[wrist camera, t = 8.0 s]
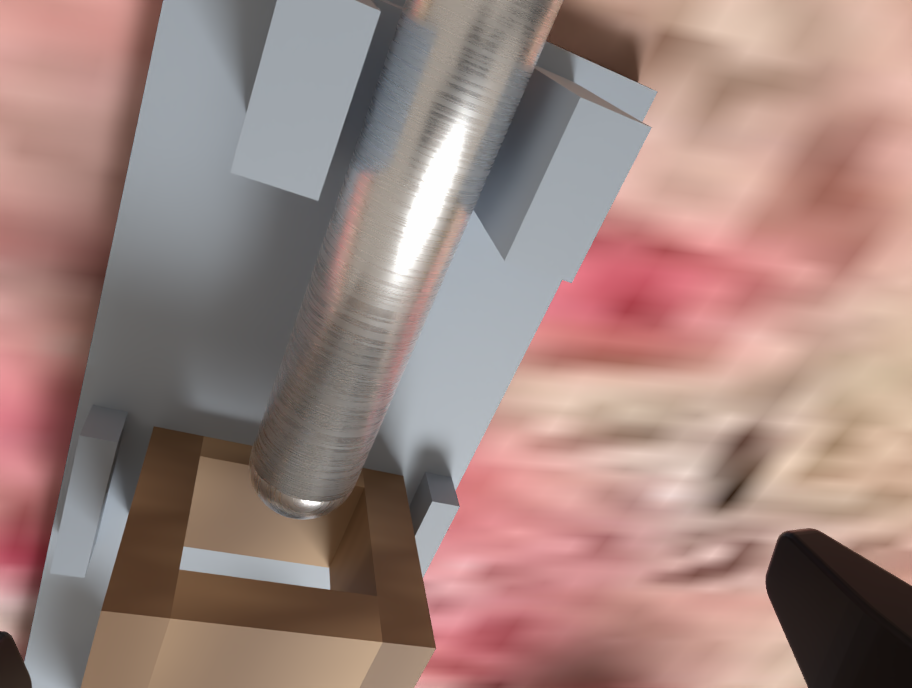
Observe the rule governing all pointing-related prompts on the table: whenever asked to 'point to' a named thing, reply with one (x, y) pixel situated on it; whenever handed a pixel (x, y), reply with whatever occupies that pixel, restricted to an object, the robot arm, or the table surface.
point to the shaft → (392, 239)
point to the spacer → (258, 583)
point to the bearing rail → (303, 272)
